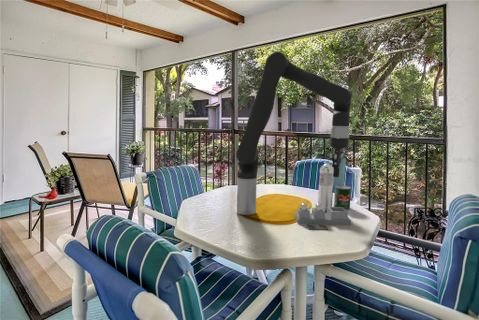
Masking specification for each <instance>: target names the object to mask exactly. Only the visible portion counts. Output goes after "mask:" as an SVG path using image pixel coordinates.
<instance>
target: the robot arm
mask: <svg viewBox="0 0 479 320" xmlns="http://www.w3.org/2000/svg"><path fill="white" fill-rule="evenodd" d="M281 78H283V79H287V80H289V81H292V82H293V83H296V84H298V85H300V86H301V87H302V88H305V89H307V90H308V91H310V92H312V93H314V94H316V95H318V96H320V97H323V98H326V99H327V100H329V101H331V102H332V103H333V114H332V121H331V129H330V138H329V139H330V141H329V142H330V143H329V147H330V148H333V149H334V151H333V152H332V164H331V166H332V167H333V169H334V171H333V176H334V177H339V168H340V163H341V159H342V157H343V156H344V155H345V151H344V149H348V148H349V145H350V144H349V143H350V142H349V141H350V124H351V123H350V122H351V116H350V115H351V114H350V112H351V111H350V110H351V101H352V98H353V97H352V92H351V91H350V90H349V89H348V88H345V87H343V86H341V85H339V84H336V83H333V82H332V81H330V80H328V79H326V78H325V77H322V76H320V75H318V74H316V73H313V72H311V71H307V70H306V69H302V68H301V67H299V66H296V65H295V64H294V63H292V62H291V61H290V60H288V58H287V56H286V55H285V54H283V52H280V51H274V52H272V53H270V54H269V55H268V56H267V57H266V60H265V64H264V68H263V73H262V76H261V81H260V84H259V86H258V89H257V93H256V95H255V97H254V100H253V102H252V105H251V109H250V113H249V116H248V119H247V123H246V126H245V130H244V133H243V136H242V138H241V140H240V143H239V145H238V148H237V149H236V153H235V154H236V159H237V161H238V163H239V164H238V169H237V177H236V180H237V181H236V182H237V183H236V186H237V189H236V214H237V215H238V214H239V215H243V216H250V215H252V216H253V215H255V214H256V213H257V190H258V189H257V187H258V186H257V184H258V183H257V182H258V181H257V180H258V178H257V177H258V176H257V175H258V169H259V168H258V167H259V150H258V145H259V141H260V138H261V136H262V135H263V133H264V130H265V129H266V126H267V125H268V123H269V121H270V118H271V116H272V112H273V109H274V107H275V101H276V93H277V92H276V91H277V87H278V84H279V81H280V79H281ZM344 157H345V156H344ZM339 160H340V161H339ZM335 163H337V165H335ZM334 177H333V178H334Z"/></svg>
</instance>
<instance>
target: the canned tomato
mask: <svg viewBox="0 0 479 320" xmlns="http://www.w3.org/2000/svg"><path fill="white" fill-rule="evenodd" d="M351 195H352V187H351V186H349V185H344V186H343V187H337V186H334V197H333V198H334V200H333V207H343V208H344V209H345V210H346V211H349V210H350V209H351Z"/></svg>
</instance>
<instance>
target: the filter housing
mask: <svg viewBox="0 0 479 320" xmlns="http://www.w3.org/2000/svg"><path fill="white" fill-rule="evenodd" d="M348 213H349V212H348V210H345V209H344V208H343V207H334V206H332V207H327V212H325V211H324V209H323V208H322V211H315V207H312V208H311V210H310V209H309V207H307V210H301V207H297V212H294V218H296V219H295V221H296V223H297V224H298V225H303V224H304V225H307V224H315V225H337V226H340V225H341V226H351V225H352V219H351V218H349V215H348Z"/></svg>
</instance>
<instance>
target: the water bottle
mask: <svg viewBox="0 0 479 320" xmlns="http://www.w3.org/2000/svg"><path fill="white" fill-rule="evenodd" d="M324 162H325V163H324V164H322V165H321V166H320V168H319V178H318V179H319V181H318V183H319V184H318V195H317V197H318V198H317V203H319V204H322V208H323V209H324V211H325V213H327V207H333V198H334V197H333V195H334V194H333V193H334V185H333V180H334V176H333V171H334V168H333V167H332V164H330V160H325V161H324Z"/></svg>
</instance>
